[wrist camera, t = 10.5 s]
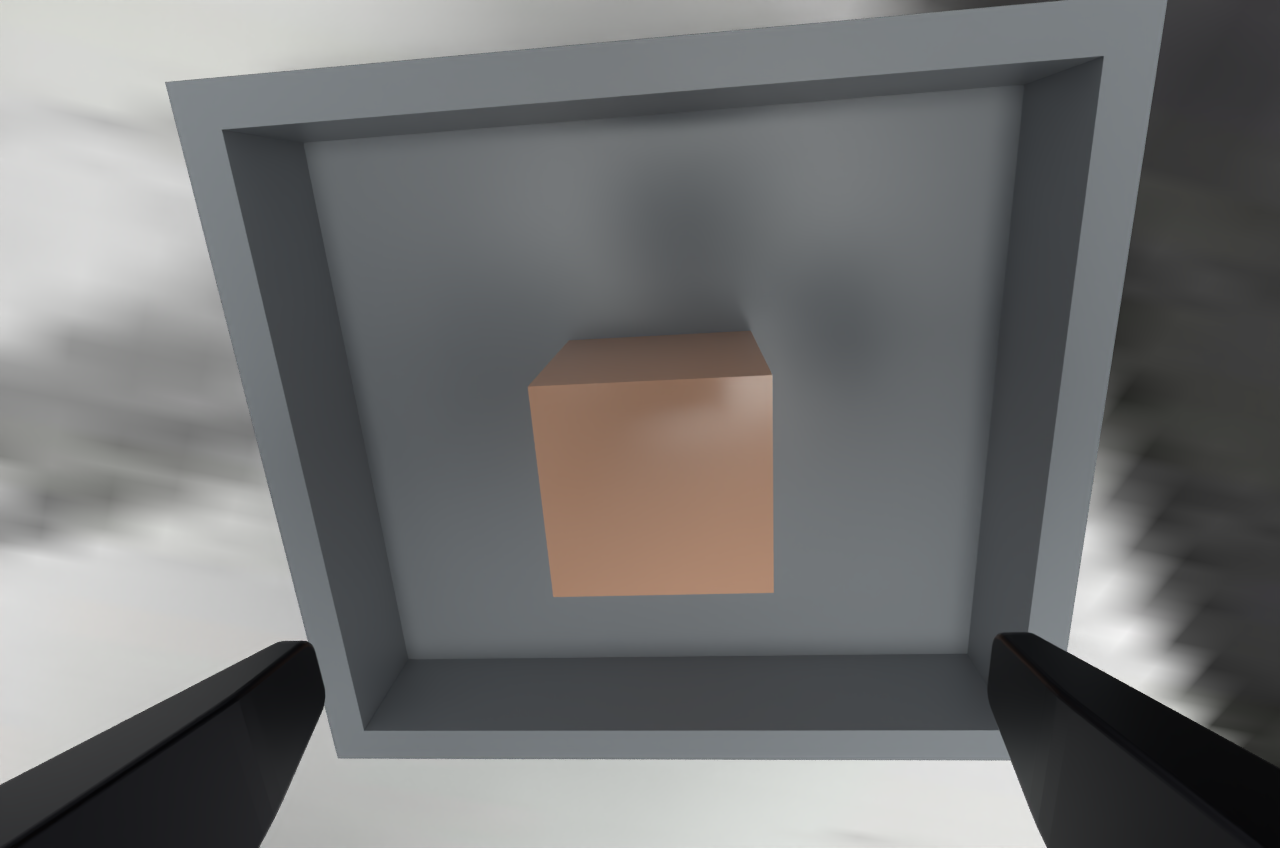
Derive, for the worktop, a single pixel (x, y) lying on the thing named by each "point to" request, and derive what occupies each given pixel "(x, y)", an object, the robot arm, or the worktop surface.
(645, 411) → the brown block
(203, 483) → the worktop surface
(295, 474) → the bin
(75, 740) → the worktop surface
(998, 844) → the worktop surface
